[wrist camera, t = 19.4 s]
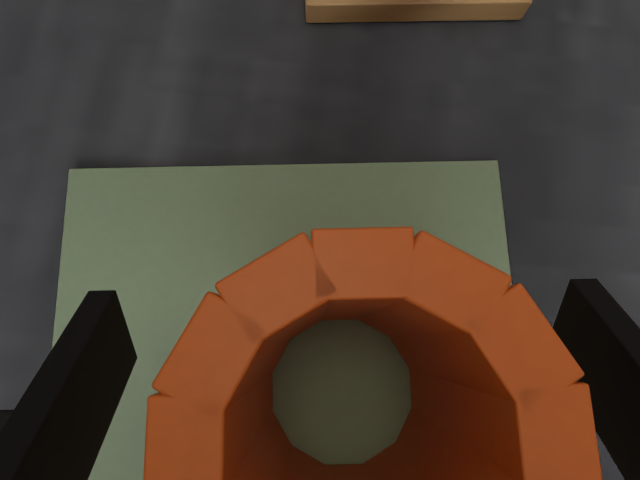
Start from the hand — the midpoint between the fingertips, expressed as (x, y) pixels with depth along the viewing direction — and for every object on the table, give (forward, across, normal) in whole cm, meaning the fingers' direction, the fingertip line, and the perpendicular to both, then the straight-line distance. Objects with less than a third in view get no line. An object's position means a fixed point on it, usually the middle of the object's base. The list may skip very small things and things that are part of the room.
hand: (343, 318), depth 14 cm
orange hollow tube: (+1, 0, -5) cm, 5 cm away
